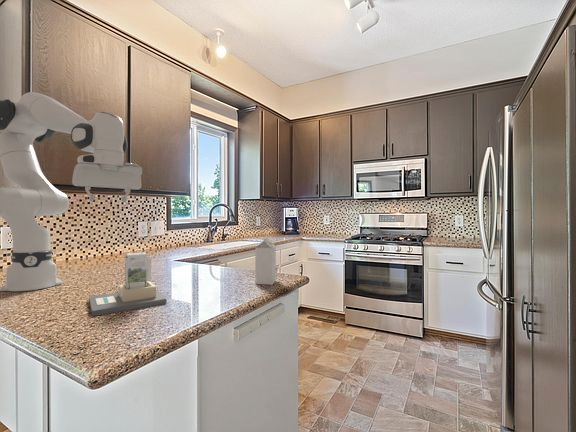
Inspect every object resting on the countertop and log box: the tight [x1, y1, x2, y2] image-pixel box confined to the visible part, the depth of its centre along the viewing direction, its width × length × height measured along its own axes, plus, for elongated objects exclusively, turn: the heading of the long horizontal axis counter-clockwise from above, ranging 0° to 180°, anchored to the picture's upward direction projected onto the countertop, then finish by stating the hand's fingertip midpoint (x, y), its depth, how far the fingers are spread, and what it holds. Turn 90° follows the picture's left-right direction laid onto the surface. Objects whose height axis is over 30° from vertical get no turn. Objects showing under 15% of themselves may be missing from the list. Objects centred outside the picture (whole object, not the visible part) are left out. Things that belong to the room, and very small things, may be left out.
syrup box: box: [124, 251, 148, 290], centre depth 98 cm, size 6×6×14 cm
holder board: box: [88, 281, 167, 317], centre depth 96 cm, size 18×20×5 cm
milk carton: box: [254, 236, 277, 286], centre depth 123 cm, size 7×7×19 cm
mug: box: [147, 256, 152, 282], centre depth 113 cm, size 10×7×12 cm, turn 79°
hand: (108, 201), depth 101 cm, fingers open, 8 cm apart
